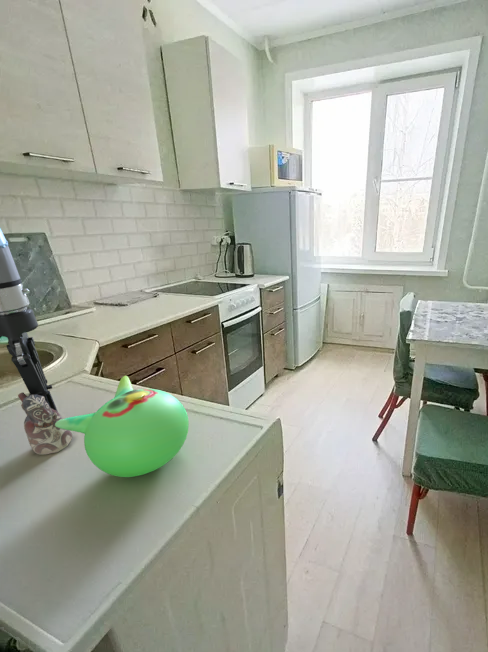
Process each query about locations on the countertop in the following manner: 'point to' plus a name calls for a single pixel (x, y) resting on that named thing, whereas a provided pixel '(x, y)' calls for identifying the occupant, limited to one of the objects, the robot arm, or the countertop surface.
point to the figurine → (43, 425)
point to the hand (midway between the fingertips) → (52, 420)
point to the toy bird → (132, 430)
